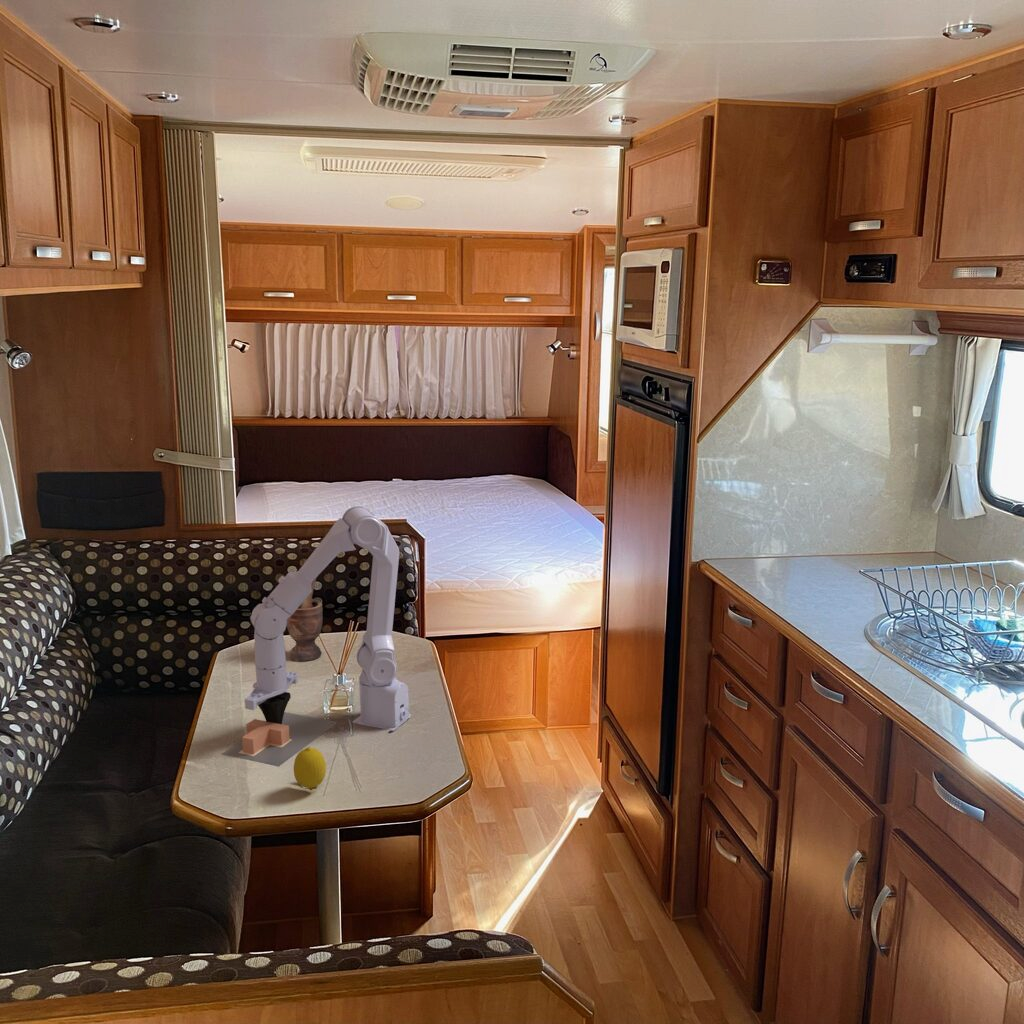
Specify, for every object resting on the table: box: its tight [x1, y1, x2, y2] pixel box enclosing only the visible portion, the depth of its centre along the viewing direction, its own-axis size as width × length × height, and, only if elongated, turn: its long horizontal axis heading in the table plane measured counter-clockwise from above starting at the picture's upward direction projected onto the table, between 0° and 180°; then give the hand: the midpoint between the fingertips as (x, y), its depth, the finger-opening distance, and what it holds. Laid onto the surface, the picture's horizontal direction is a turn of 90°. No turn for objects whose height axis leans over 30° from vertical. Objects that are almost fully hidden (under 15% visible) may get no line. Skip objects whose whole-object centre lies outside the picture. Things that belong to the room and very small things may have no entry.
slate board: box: [221, 711, 339, 767], centre depth 189 cm, size 13×20×1 cm, turn 158°
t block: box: [241, 718, 290, 754], centre depth 186 cm, size 8×8×3 cm
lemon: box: [293, 746, 327, 791], centre depth 170 cm, size 6×6×8 cm
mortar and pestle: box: [286, 577, 324, 662], centre depth 232 cm, size 12×9×20 cm
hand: (274, 729), depth 190 cm, fingers closed
